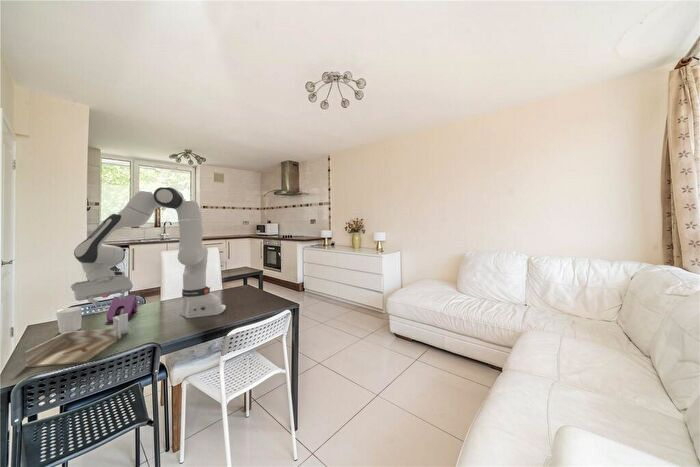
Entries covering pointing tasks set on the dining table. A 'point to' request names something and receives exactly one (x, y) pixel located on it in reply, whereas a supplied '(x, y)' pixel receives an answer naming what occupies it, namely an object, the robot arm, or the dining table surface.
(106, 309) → the pliers
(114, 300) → the mounting bracket
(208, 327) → the dining table surface
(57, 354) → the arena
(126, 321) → the angle bracket
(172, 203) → the robot arm
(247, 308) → the dining table surface
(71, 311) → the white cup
